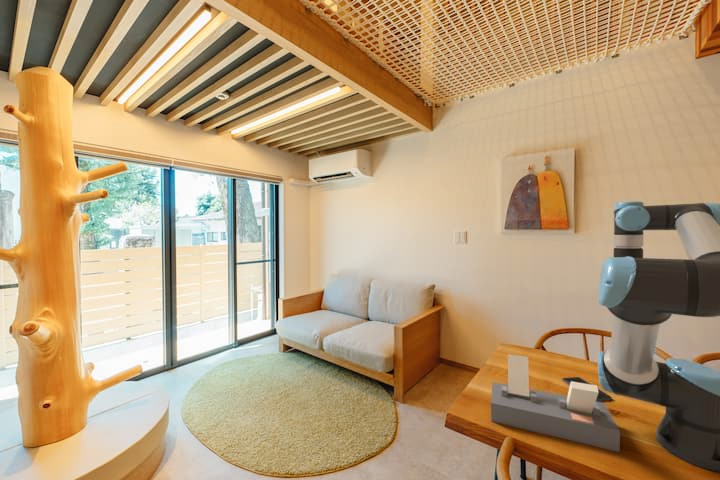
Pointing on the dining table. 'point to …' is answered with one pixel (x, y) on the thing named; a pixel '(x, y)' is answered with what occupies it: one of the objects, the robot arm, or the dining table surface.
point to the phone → (601, 394)
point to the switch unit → (554, 417)
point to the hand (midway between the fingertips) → (626, 315)
